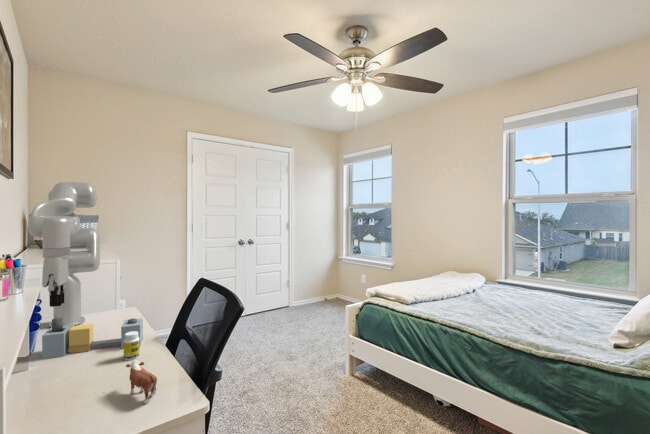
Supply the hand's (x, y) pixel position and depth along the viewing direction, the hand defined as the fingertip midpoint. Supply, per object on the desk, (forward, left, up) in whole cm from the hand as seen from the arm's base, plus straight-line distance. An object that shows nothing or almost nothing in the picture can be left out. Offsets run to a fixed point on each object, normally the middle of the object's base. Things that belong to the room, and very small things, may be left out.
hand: (57, 304), depth 116 cm
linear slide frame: (0, +12, -17) cm, 21 cm away
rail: (0, +12, -17) cm, 21 cm away
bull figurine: (+40, +31, -17) cm, 53 cm away
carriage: (0, +7, -17) cm, 19 cm away
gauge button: (0, 0, -9) cm, 9 cm away
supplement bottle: (+13, +25, -17) cm, 33 cm away
